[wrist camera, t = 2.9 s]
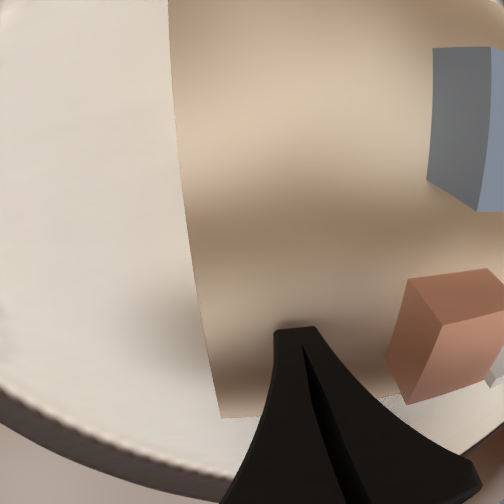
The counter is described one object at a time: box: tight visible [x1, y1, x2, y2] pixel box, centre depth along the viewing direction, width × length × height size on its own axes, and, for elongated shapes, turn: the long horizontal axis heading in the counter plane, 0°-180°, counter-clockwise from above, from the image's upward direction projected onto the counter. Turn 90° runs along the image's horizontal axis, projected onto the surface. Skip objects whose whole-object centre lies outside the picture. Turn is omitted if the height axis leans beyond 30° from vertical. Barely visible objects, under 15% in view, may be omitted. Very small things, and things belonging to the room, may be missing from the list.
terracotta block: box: [385, 268, 504, 405], centre depth 10 cm, size 4×4×2 cm
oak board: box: [168, 0, 504, 418], centre depth 11 cm, size 17×14×2 cm
